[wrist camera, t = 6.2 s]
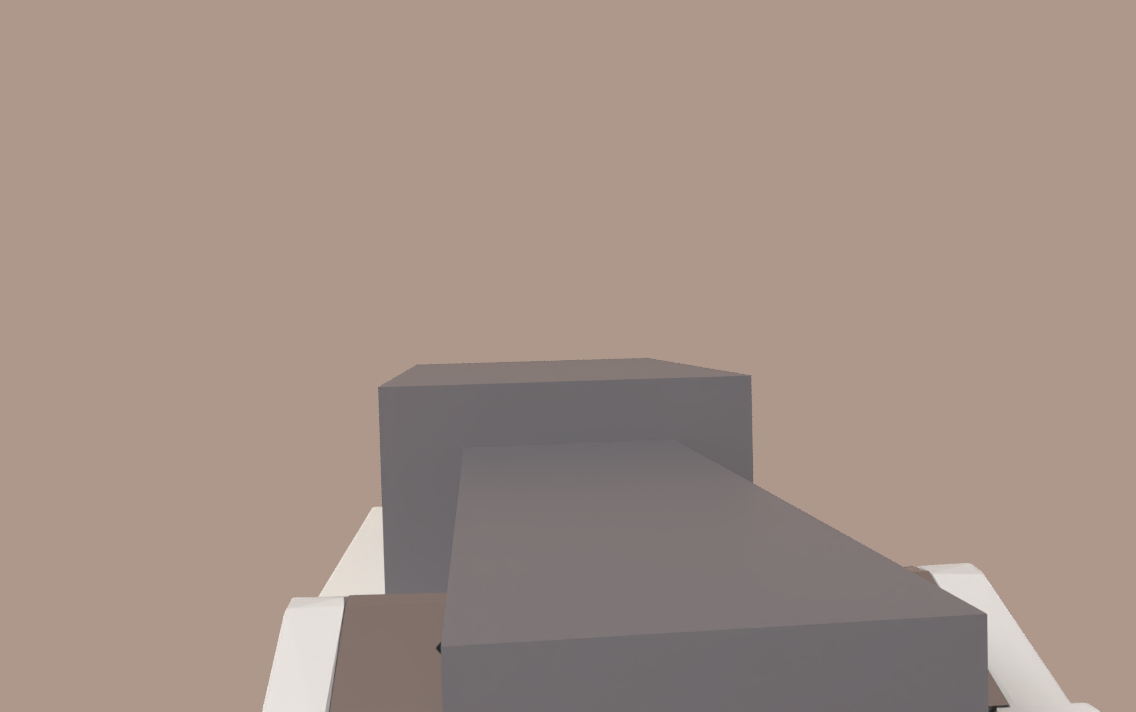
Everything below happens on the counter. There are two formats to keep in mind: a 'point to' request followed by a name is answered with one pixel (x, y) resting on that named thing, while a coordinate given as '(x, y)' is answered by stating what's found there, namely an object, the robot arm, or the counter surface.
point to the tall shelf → (361, 562)
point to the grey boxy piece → (643, 553)
